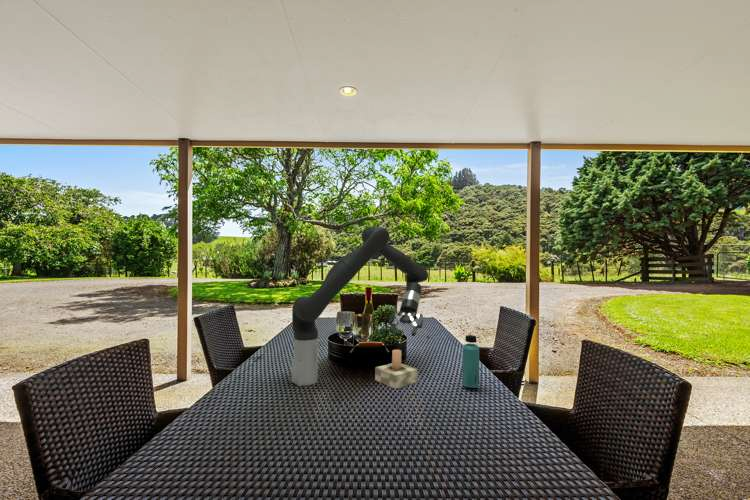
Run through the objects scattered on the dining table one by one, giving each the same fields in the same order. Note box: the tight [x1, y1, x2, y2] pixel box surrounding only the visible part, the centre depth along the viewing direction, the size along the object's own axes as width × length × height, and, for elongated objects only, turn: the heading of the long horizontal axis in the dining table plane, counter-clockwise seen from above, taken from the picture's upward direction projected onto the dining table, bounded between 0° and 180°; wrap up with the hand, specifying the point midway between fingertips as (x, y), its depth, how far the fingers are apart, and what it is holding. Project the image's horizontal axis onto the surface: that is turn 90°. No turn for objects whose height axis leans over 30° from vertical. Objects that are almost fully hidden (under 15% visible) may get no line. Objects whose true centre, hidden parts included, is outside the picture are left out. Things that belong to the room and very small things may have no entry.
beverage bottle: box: [461, 334, 481, 388], centre depth 140 cm, size 6×7×20 cm
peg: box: [391, 349, 402, 371], centre depth 147 cm, size 4×4×12 cm
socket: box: [374, 362, 419, 390], centre depth 147 cm, size 12×12×5 cm
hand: (402, 334), depth 155 cm, fingers open, 8 cm apart
